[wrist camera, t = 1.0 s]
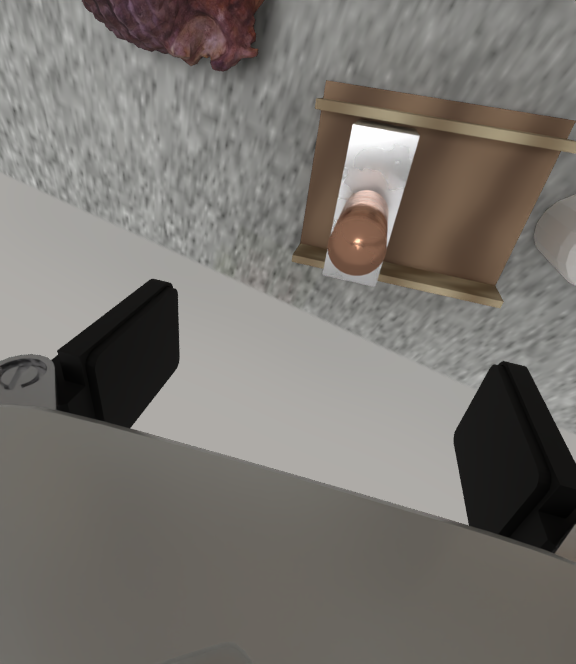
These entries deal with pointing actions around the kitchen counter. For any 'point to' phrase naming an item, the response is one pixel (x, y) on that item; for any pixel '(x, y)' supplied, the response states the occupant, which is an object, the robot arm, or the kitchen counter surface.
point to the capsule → (559, 237)
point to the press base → (439, 186)
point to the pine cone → (184, 27)
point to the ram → (369, 199)
